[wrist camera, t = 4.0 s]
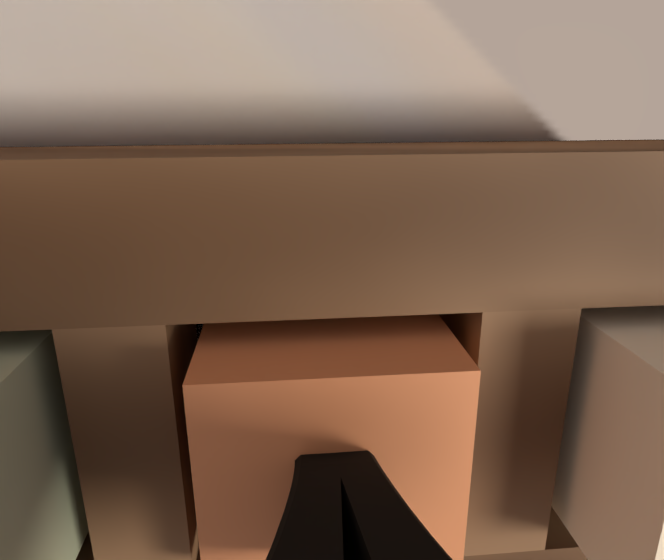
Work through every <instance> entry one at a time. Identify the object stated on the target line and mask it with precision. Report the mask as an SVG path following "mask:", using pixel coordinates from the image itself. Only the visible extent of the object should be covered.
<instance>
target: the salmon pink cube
mask: <svg viewBox="0 0 664 560" xmlns="http://www.w3.org/2000/svg"><path fill="white" fill-rule="evenodd" d="M480 376H481V370H480V369H479V367H478V366H477V365H476V363H475V362H474V361H473V359H472V358H471V357H470V356H469V354H468V353H467V352H466V350H465V349H464V348H463V346H462V345H461V344H460V342H459V341H458V340H457V338H456V337H455V336H454V334H453V333H452V332H451V330H450V329H449V328H448V326H447V325H446V324H445V322H444V321H443V320H442V318H441V317H440V316H439V314H430V315H405V316H379V317H354V318H329V319H304V320H279V321H254V322H228V323H204V325H203V328H202V331H201V333H200V336H199V339H198V342H197V345H196V348H195V351H194V353H193V356H192V359H191V362H190V365H189V368H188V371H187V373H186V376H185V379H184V382H183V385H182V387H183V397H184V406H185V416H186V425H187V435H188V444H189V454H190V463H191V473H192V482H193V492H194V501H195V511H196V521H197V530H198V540H199V549H200V559H201V560H266V557H267V555H268V553H269V551H270V548H271V546H272V543H273V541H274V538H275V535H276V532H277V529H278V526H279V524H280V521H281V518H282V515H283V512H284V510H285V506H286V503H287V499H288V496H289V492H290V489H291V485H292V480H293V474H294V468H295V460H296V459H297V458H298V457H299V456H300V455H304V454H320V453H336V452H352V451H367V450H368V451H369V452H371V453H372V454H373V455H374V456H375V458H376V460H377V461H378V463H379V465H380V466H381V468H382V469H383V471H384V472H385V474H386V475H387V477H388V478H389V480H390V481H391V483H392V484H393V486H394V487H395V488H396V490H397V491H398V492H399V494H400V495H401V497H402V498H403V499H404V501H405V502H406V503H407V505H408V506H409V507H410V509H411V510H412V511H413V513H414V514H415V515H416V516H417V518H418V519H419V520H420V521H421V523H422V524H423V525H424V526H425V528H426V529H427V530H428V531H429V533H430V534H431V535H432V536H433V537H434V539H435V540H436V541H437V542H438V543H439V545H440V546H441V547H442V548H443V549H444V550H445V552H446V553H447V554H448V555H449V556H450V557H451V558H452V559H453V560H463V559H464V548H465V538H466V527H467V516H468V505H469V494H470V484H471V473H472V462H473V451H474V440H475V430H476V419H477V408H478V397H479V386H480Z"/></svg>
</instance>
